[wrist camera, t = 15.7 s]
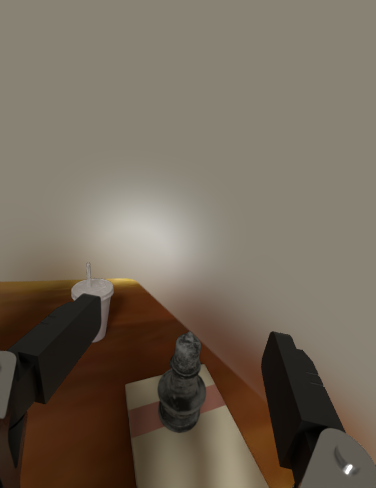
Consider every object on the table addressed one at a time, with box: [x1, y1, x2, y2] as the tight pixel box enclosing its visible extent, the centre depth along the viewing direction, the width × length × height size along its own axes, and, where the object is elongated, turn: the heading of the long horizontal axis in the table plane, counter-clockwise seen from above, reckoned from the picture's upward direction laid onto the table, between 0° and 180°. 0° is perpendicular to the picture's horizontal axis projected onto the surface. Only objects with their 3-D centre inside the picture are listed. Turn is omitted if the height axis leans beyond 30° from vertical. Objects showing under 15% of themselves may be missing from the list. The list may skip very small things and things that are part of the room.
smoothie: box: [71, 263, 113, 342], centre depth 36 cm, size 6×6×14 cm
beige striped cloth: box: [125, 364, 269, 488], centre depth 24 cm, size 12×18×1 cm, turn 21°
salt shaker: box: [157, 331, 206, 433], centre depth 25 cm, size 6×6×12 cm
